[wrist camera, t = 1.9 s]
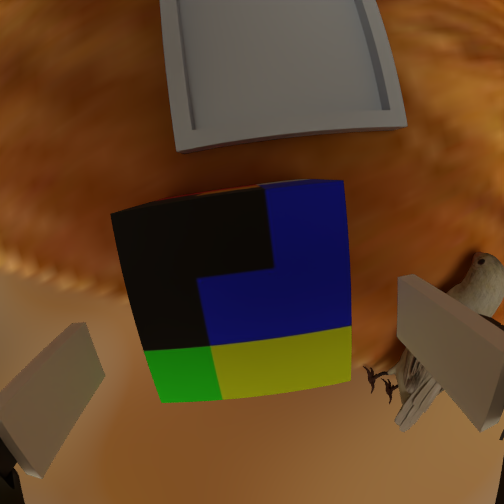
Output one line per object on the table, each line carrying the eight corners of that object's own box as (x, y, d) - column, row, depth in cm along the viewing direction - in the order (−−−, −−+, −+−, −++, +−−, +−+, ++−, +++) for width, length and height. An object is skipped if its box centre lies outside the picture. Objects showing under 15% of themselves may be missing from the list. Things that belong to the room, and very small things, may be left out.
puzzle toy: (301, 178, 22) (343, 180, 13) (313, 307, 25) (350, 380, 15) (164, 198, 22) (110, 213, 13) (188, 323, 25) (161, 402, 15)
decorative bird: (488, 267, 25) (539, 291, 17) (386, 392, 27) (416, 441, 20) (463, 232, 24) (519, 251, 16) (352, 370, 26) (380, 423, 19)
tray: (164, -18, 18) (157, -33, 16) (349, -32, 18) (357, -46, 15) (183, 154, 22) (176, 151, 19) (393, 130, 21) (407, 126, 19)
